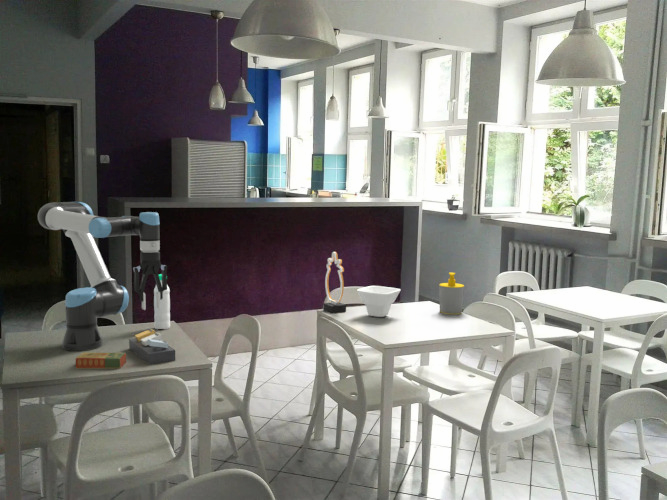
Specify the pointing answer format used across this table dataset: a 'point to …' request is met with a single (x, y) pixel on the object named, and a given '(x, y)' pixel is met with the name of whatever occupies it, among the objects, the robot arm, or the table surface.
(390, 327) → the table surface
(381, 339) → the table surface
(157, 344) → the rocker blue
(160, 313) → the water bottle
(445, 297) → the soap bottle
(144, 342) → the rocker white
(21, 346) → the table surface
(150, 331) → the rocker amber
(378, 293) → the bowl
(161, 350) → the power strip
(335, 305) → the lamp
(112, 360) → the carton
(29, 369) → the table surface
